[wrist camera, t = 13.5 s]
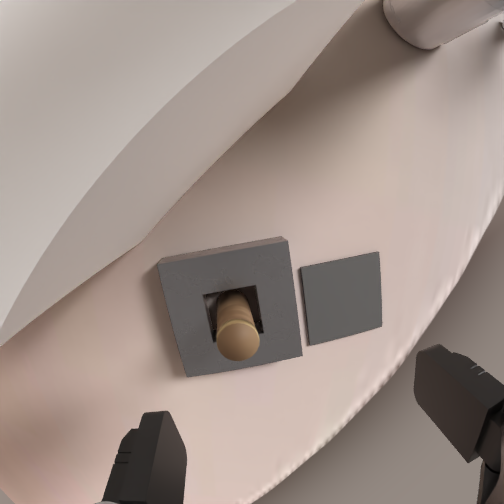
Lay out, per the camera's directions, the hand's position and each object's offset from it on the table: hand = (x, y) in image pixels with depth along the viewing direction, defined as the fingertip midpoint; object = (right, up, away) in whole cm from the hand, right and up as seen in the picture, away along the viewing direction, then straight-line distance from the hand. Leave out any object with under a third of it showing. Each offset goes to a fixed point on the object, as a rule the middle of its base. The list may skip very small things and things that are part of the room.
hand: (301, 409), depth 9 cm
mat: (+9, 0, +25) cm, 26 cm away
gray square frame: (-4, -1, +24) cm, 24 cm away
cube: (-14, +22, +19) cm, 32 cm away
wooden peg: (-4, -1, +24) cm, 24 cm away
